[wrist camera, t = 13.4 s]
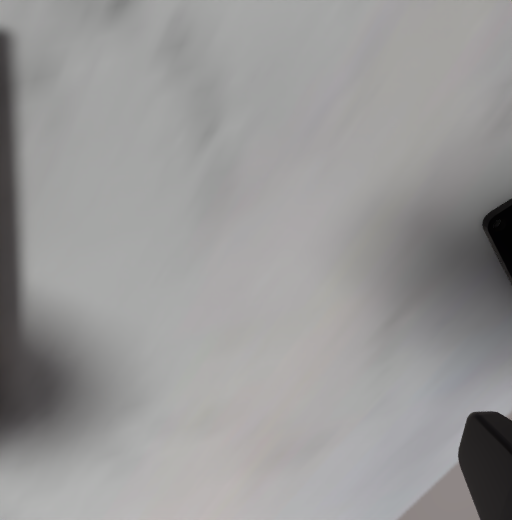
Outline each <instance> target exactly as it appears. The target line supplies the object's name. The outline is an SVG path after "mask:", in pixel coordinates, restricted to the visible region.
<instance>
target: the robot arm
mask: <svg viewBox="0 0 512 520" xmlns="http://www.w3.org/2000/svg"><path fill="white" fill-rule="evenodd" d="M499 219H500V224H499V225H498V226H497V227H495V228H494V223H495V222H496V221H497V220H499ZM482 226H483V229H484V231H485V233H486V235H487V237H488V239H489V241H490V243H491V245H492V247H493V249H494V251H495V253H496V255H497V257H498V259H499V261H500V263H501V265H502V267H503V269H504V270H505V272H506V274H507V276H508V278H509V280H510V282H511V284H512V199H510V200H509V201H507V202H505V203H504V204H502V205H501V206H499V207H497V208H496V209H494V210H493V211H491V212H489V213H488V214H487V215H486V216H485V218H484V220H483V224H482ZM458 458H459V464H460V467H461V470H462V472H463V475H464V478H465V481H466V483H467V486H468V488H469V491H470V494H471V496H472V499H473V502H474V504H475V507H476V509H477V512H478V515H479V517H480V520H512V421H511V420H510V419H508V418H507V417H505V416H503V415H502V414H500V413H498V412H493V411H488V412H473V413H471V414H470V415H469V416H468V418H467V421H466V424H465V428H464V432H463V435H462V439H461V443H460V446H459V451H458Z"/></svg>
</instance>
